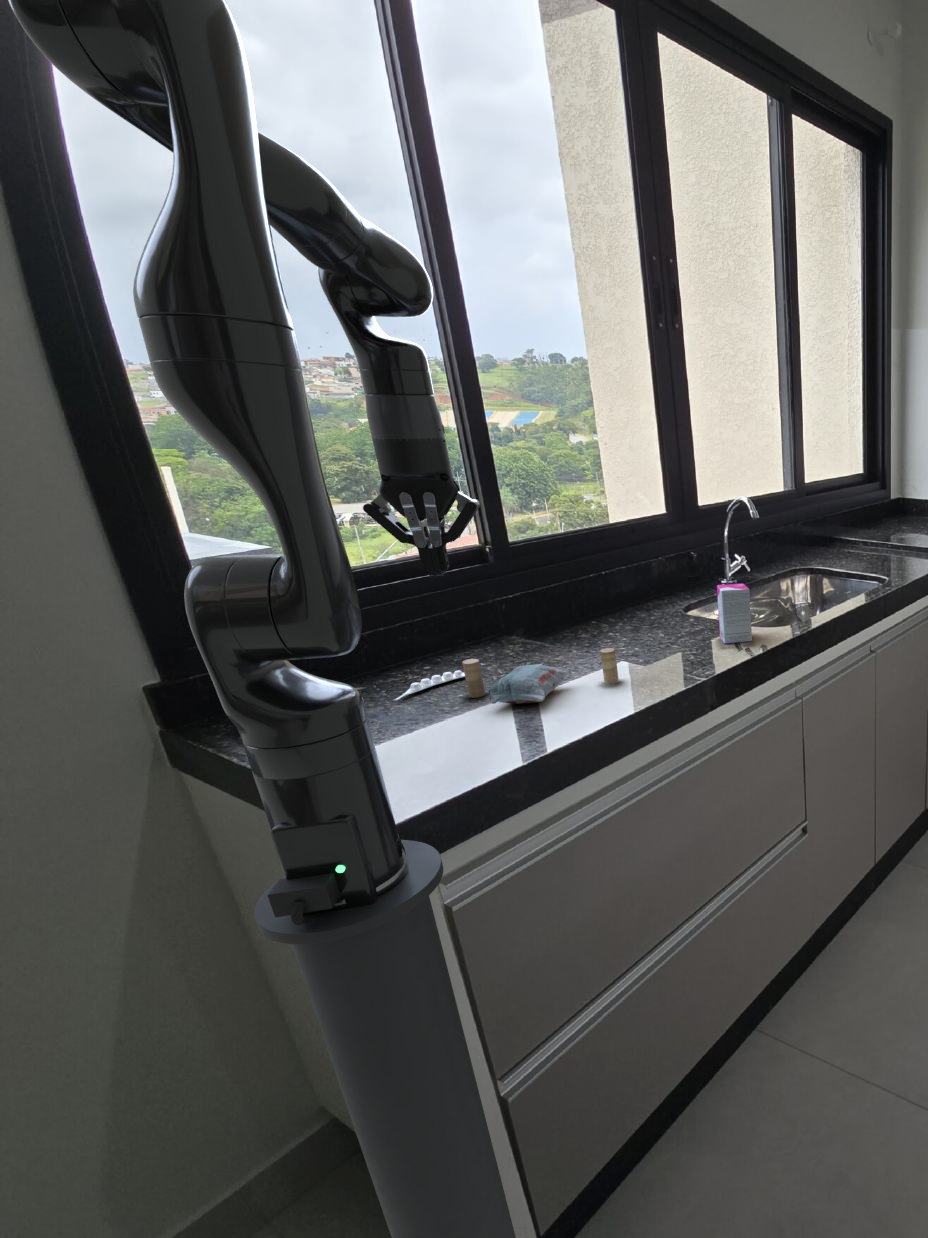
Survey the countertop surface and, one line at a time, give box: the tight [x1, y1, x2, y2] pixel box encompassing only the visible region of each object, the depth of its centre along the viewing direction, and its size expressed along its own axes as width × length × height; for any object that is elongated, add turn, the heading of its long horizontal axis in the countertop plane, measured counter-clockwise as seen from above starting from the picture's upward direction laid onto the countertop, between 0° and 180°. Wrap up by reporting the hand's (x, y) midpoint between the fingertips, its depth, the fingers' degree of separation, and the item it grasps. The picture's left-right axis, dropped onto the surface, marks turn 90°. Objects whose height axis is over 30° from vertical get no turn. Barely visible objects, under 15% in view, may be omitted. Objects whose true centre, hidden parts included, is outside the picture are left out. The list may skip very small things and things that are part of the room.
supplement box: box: [716, 583, 753, 646], centre depth 150 cm, size 6×6×12 cm
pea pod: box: [394, 669, 465, 702], centre depth 126 cm, size 15×4×2 cm, turn 151°
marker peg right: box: [599, 647, 620, 685], centre depth 128 cm, size 2×2×6 cm
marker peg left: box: [462, 658, 486, 699], centre depth 122 cm, size 2×2×6 cm
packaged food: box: [488, 663, 572, 705], centre depth 121 cm, size 9×12×5 cm
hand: (437, 574), depth 95 cm, fingers closed
